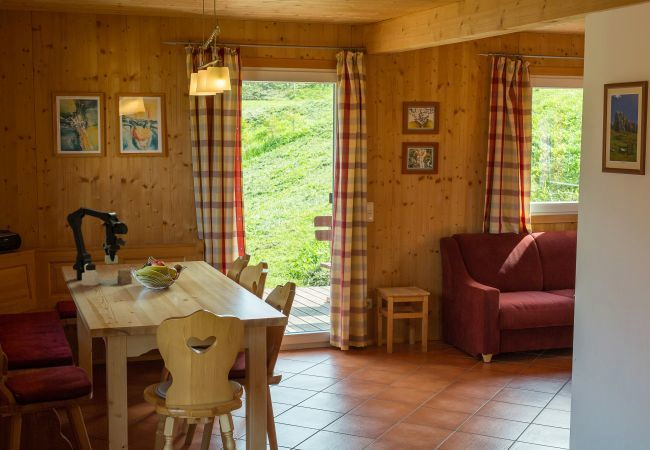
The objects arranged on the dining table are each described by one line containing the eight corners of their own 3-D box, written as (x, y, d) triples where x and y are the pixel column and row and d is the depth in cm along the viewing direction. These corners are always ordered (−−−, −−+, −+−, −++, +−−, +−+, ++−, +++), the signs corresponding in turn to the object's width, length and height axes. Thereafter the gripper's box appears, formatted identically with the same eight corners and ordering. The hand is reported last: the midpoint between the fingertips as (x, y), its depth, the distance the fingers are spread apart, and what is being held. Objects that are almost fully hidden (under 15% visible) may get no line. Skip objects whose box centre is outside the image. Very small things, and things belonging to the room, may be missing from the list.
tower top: (118, 276, 484) (118, 269, 484) (128, 275, 486) (128, 268, 486) (120, 277, 479) (119, 270, 478) (130, 276, 481) (130, 269, 481)
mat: (94, 281, 492) (94, 280, 492) (123, 279, 500) (123, 278, 500) (105, 287, 472) (105, 286, 472) (135, 284, 480) (135, 284, 480)
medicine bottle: (98, 284, 482) (98, 263, 481) (94, 286, 475) (93, 265, 474) (86, 283, 483) (86, 263, 482) (81, 286, 476) (81, 264, 475)
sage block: (104, 262, 490) (104, 255, 489) (115, 261, 493) (114, 254, 492) (107, 263, 485) (107, 256, 484) (117, 262, 488) (117, 256, 487)
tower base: (117, 283, 483) (117, 276, 483) (127, 282, 487) (127, 275, 487) (121, 284, 479) (121, 277, 478) (131, 283, 482) (131, 276, 482)
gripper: (128, 234, 483) (129, 261, 484) (119, 232, 499) (120, 258, 501) (109, 235, 478) (110, 263, 479) (100, 233, 494) (101, 259, 495)
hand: (111, 260), depth 489 cm, fingers closed on sage block, 6 cm apart
